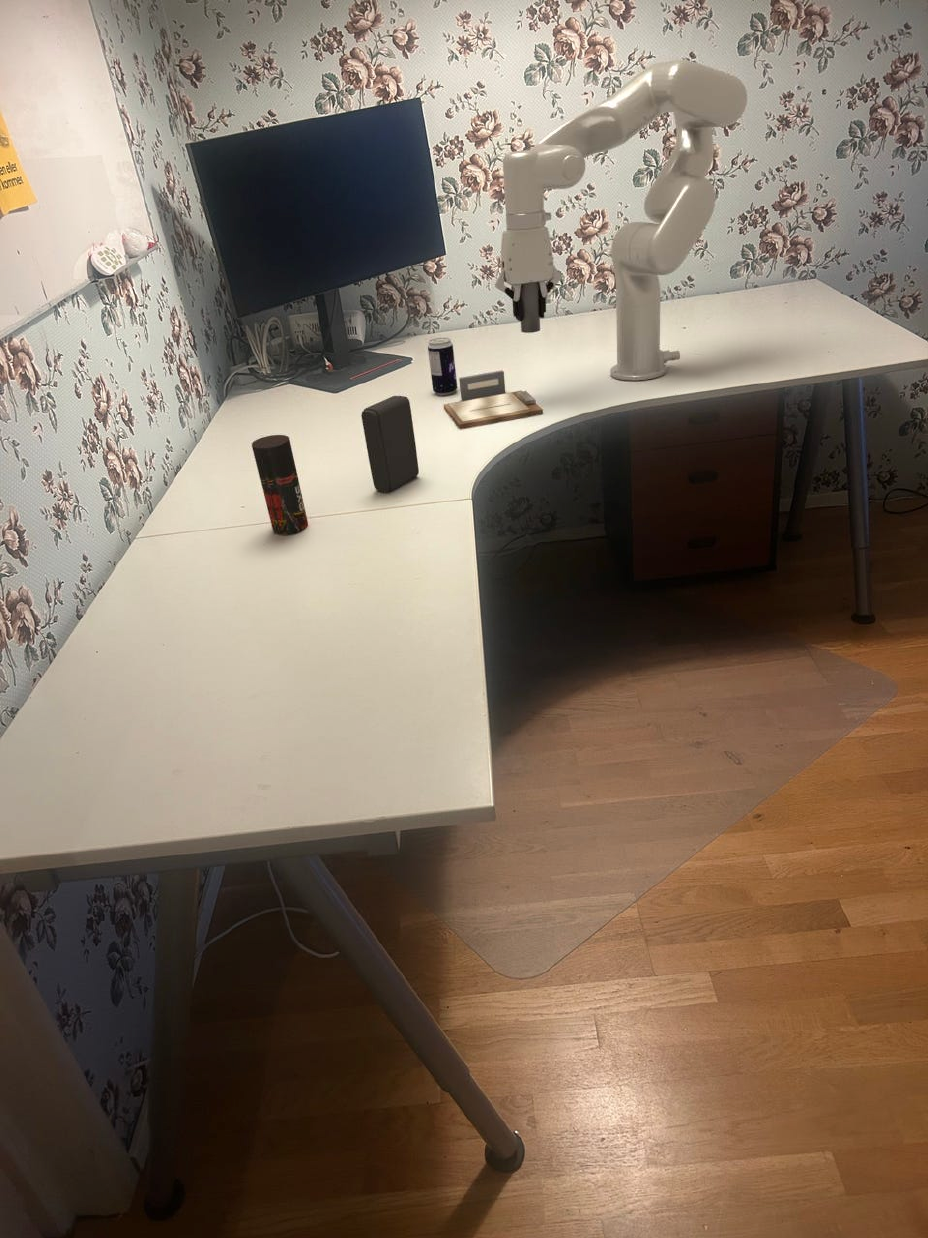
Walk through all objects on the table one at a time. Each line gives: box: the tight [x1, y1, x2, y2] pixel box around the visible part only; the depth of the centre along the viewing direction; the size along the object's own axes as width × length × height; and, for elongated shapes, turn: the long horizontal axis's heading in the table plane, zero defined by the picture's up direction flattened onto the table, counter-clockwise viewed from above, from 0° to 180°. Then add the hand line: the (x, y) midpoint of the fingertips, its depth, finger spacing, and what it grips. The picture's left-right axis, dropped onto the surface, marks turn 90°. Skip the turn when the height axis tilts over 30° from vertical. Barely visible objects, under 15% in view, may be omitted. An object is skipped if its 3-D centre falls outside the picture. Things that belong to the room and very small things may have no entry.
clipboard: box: [442, 390, 544, 430], centre depth 182 cm, size 18×15×2 cm
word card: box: [458, 370, 506, 401], centre depth 190 cm, size 10×1×5 cm, turn 103°
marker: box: [520, 280, 541, 334], centre depth 175 cm, size 4×4×12 cm
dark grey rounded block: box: [360, 395, 420, 493], centre depth 149 cm, size 9×4×15 cm, turn 141°
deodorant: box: [251, 434, 309, 536], centre depth 138 cm, size 6×6×15 cm
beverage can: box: [427, 337, 458, 397], centre depth 194 cm, size 6×6×12 cm
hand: (529, 317), depth 176 cm, fingers closed on marker, 4 cm apart
